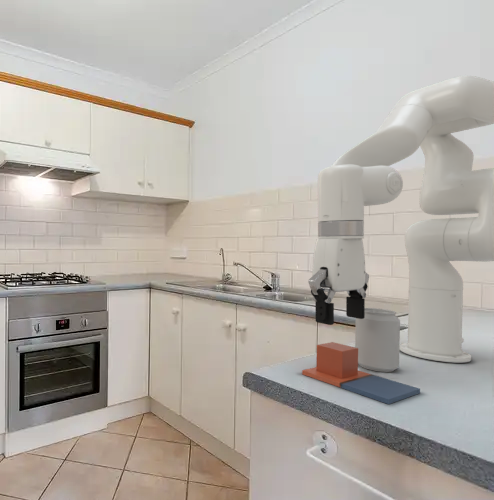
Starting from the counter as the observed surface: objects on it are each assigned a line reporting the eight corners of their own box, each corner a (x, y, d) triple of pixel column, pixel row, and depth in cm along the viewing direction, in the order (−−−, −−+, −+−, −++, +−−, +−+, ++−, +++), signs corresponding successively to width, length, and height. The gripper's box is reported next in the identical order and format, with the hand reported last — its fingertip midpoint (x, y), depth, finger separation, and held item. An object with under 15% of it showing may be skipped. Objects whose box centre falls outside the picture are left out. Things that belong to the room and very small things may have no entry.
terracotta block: (331, 366, 73) (332, 341, 73) (357, 374, 68) (358, 348, 68) (316, 370, 71) (316, 344, 71) (342, 378, 66) (342, 351, 66)
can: (357, 359, 81) (358, 305, 81) (399, 366, 76) (400, 309, 76) (352, 367, 75) (353, 309, 75) (398, 376, 70) (399, 314, 70)
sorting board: (333, 366, 75) (333, 362, 75) (420, 393, 62) (420, 388, 62) (302, 374, 71) (302, 370, 71) (388, 404, 57) (388, 399, 57)
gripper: (347, 231, 77) (347, 312, 77) (292, 232, 69) (293, 322, 69) (386, 230, 70) (386, 319, 70) (331, 230, 62) (331, 330, 62)
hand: (340, 320), depth 70 cm, fingers open, 9 cm apart
